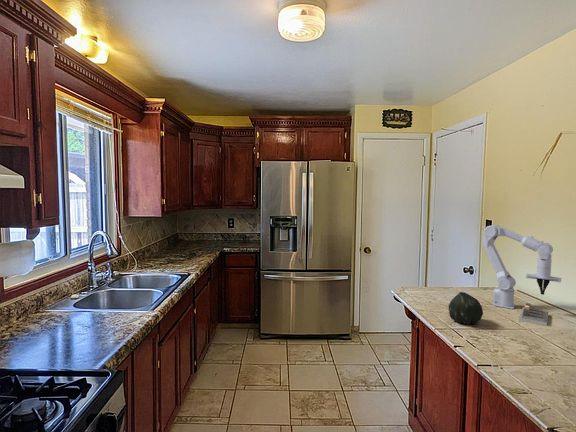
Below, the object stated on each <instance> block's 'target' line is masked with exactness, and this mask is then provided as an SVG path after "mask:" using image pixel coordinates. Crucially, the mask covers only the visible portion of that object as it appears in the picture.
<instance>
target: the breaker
mask: <svg viewBox="0 0 576 432" xmlns="http://www.w3.org/2000/svg"><path fill="white" fill-rule="evenodd" d="M523 308H524V307H523ZM523 315H524V316H528V315H529V309H526V308H524V310H523Z"/></svg>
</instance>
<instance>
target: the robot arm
mask: <svg viewBox="0 0 576 432" xmlns="http://www.w3.org/2000/svg"><path fill="white" fill-rule="evenodd" d="M498 237H507V238H510V239H511V240H515V241H517V242H519V243H521V245H522V247H523V248H526V249H529V250H531V251H533V252H537V255H538V256H537V266H536V274H532V273H526V275H525V276H526V277H525V278H526V279H534V280H536V282H537V283H536V284H537V285H538V287H539V291H540V295H543V296H544V295H545V292H546V289H547V288H548V286H549V284H550V282H557V283H562V277H557V276H551V273H552V261H553V260H552V253H553V251H554V247H553V245H551V244H550V243H549V242H548V243H547V242H544V241H543V240H538V239H536V238H534V236H532V235H531V236H529V235H527V236H523V235H521V234H518V233H516V232H514V231H512V230H511V229H508V228H506V227H503V226H500V225H498V224H492V225H488V226H486V227H485V228H484V229H483V231H482V241H481V242H482V243H481V244H482V246H483V249H484V250H485V252H486V254H487V256H488V258H489V262H490V263H491V264H492V267H493V270H494V271H495V273H496V279H497V286H498V288H494V290H493V300H492V301H493V302H492V303H493V304H492V305H493V307H500V308H503V309H504V308H507V309H509V310H510V309H511V310H514V308H515V306H516V304H514V303H515V302H514V301H515V300H514V299H515V289H514V287H515V285H516V280H515V278H514V277H513V276H512V275H511V274H510V272H509V271H508V270H507V268H506V266H505V264H504V263H503V260H502V258H501V256H500V254H499V252H498V250H497V248H496V246H495V242H496V240H497V238H498Z"/></svg>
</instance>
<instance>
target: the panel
mask: <svg viewBox="0 0 576 432" xmlns="http://www.w3.org/2000/svg"><path fill="white" fill-rule="evenodd" d="M523 310H524V307H522V309H521V311H520V313H519V316H518V321H519V322H525V323H531V324H536V325H540V326H546V327H547V326H548V320H549V311H546V310H540V309H533V308H530V310H529V315H528V316H524V315H523Z"/></svg>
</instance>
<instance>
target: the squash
mask: <svg viewBox="0 0 576 432" xmlns="http://www.w3.org/2000/svg"><path fill="white" fill-rule="evenodd" d="M447 308H448V314H449V317H450V319H451V320H453V321H455V322H457V323H459V324H463V323H464V324H465V325H470V324H471V325H476V324H477V323H478V322H479V321H480V320H481V319H482V317H483V315H484V311H483V306H482V304H481V303H480V301H479V300H478V299H477V298H476V297H474V296H472V295H471V294H469V293H467V292H464V291H459V292H458V293H457V294H456V295H455V296H454V297H452V299H451V300H450V302H449V303H448V307H447Z"/></svg>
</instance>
